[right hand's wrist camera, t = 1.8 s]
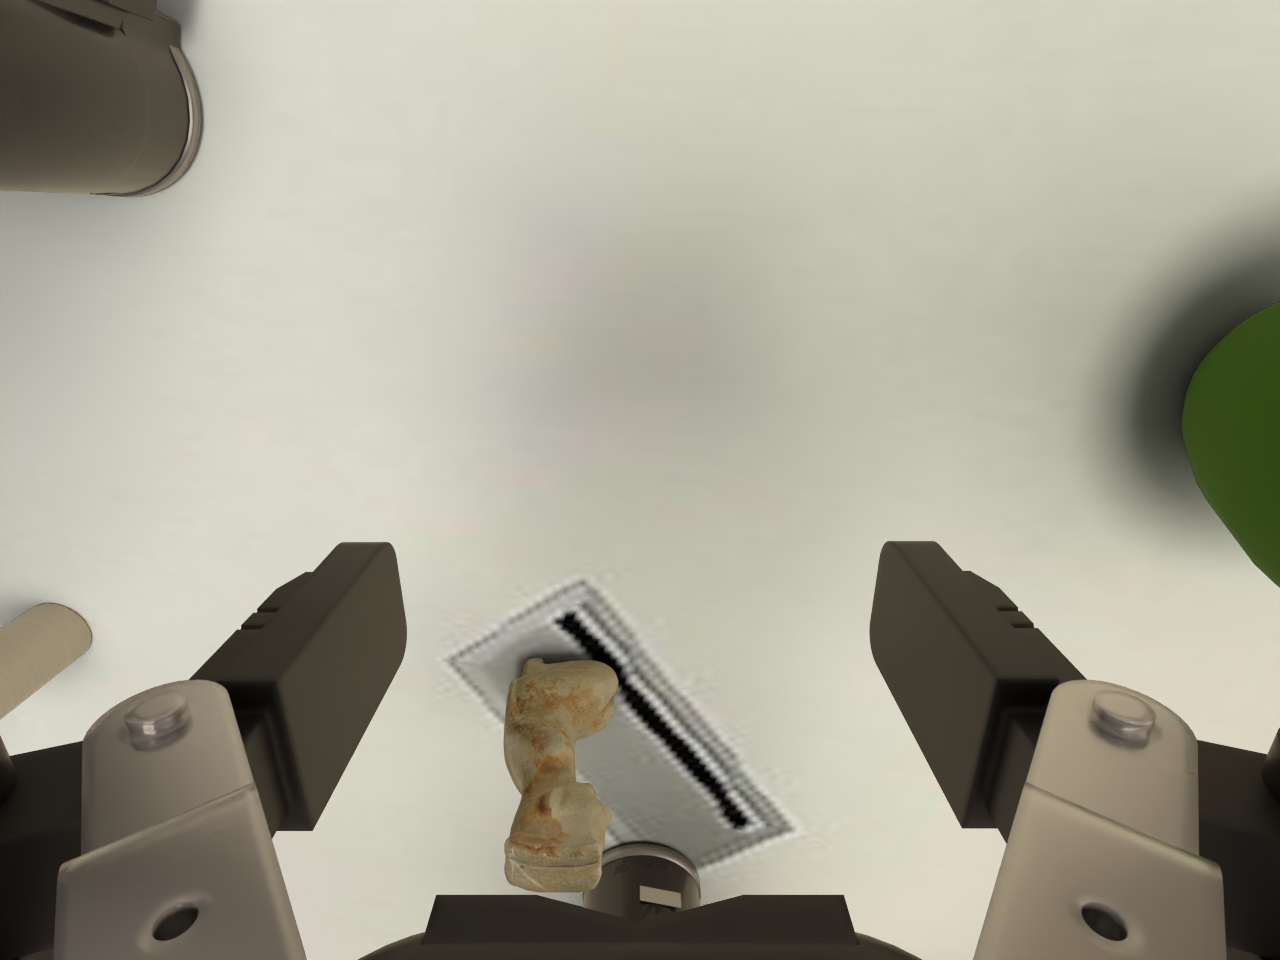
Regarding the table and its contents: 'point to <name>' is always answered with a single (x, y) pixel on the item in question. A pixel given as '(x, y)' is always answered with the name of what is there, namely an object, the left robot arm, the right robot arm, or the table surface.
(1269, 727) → the table surface
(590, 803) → the sculpture
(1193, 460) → the vase
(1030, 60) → the table surface
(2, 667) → the jar
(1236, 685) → the table surface
